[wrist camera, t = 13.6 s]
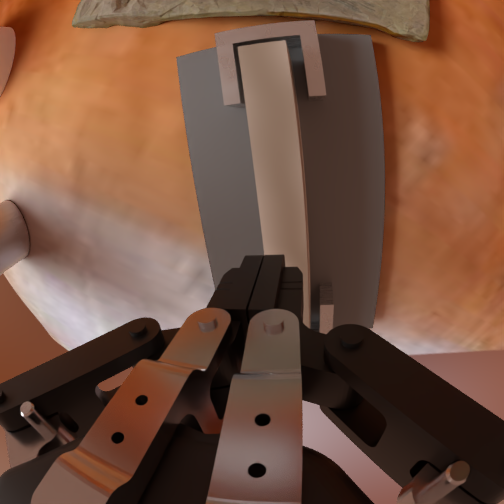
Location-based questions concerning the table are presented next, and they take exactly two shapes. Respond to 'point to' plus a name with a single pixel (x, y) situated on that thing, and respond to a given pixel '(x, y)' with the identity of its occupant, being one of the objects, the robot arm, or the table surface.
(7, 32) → the honey pot
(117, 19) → the stone slab
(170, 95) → the table surface
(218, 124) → the base board
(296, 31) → the end caps
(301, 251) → the slat
